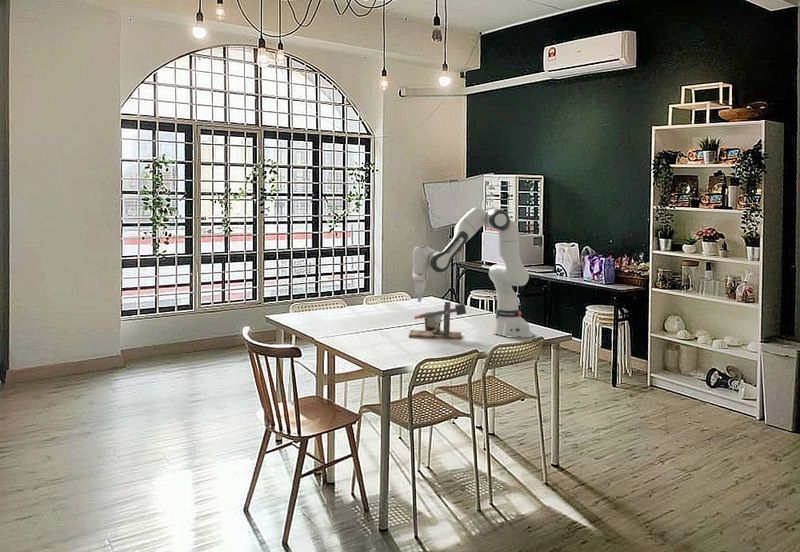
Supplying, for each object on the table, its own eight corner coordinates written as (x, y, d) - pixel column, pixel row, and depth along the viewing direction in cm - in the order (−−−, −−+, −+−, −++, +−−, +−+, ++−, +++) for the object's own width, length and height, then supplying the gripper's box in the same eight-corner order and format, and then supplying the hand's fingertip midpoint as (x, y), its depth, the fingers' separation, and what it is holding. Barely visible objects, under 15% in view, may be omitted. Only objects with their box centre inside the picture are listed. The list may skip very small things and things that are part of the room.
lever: (466, 316, 380) (464, 303, 380) (466, 317, 376) (464, 304, 375) (416, 325, 384) (414, 312, 383) (416, 326, 379) (413, 313, 378)
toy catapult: (461, 334, 386) (462, 302, 383) (460, 339, 374) (462, 306, 371) (410, 332, 388) (411, 300, 386) (409, 337, 377) (409, 303, 374)
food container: (434, 328, 402) (434, 311, 400) (441, 330, 397) (442, 312, 396) (418, 330, 394) (418, 313, 392) (425, 332, 389) (426, 315, 388)
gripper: (416, 272, 388) (415, 296, 390) (413, 277, 368) (412, 303, 370) (427, 272, 387) (427, 297, 389) (425, 278, 367) (424, 303, 369)
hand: (420, 300), depth 379 cm, fingers open, 8 cm apart
